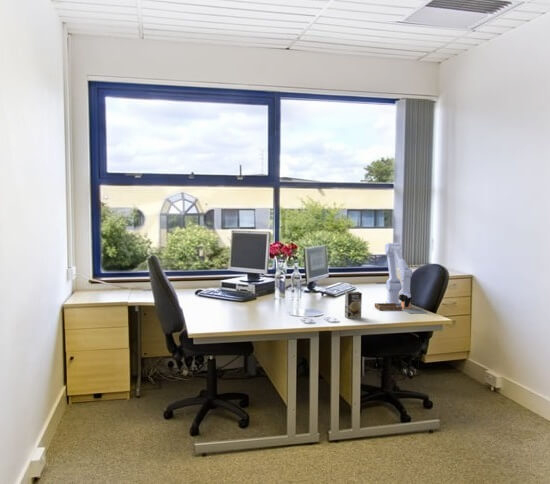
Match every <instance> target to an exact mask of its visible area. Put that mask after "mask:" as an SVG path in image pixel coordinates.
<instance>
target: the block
mask: <svg viewBox="0 0 550 484" xmlns="http://www.w3.org/2000/svg"><path fill="white" fill-rule="evenodd" d="M400 306H402V310H403V309H412V302H410V303H409V307H405V302H402V301H400Z"/></svg>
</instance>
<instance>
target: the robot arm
mask: <svg viewBox="0 0 550 484" xmlns="http://www.w3.org/2000/svg"><path fill="white" fill-rule="evenodd" d="M401 250H402V246H401V244H400V242H386V244H385V245H384V253H385V255H386V259H387V268H388V277H389V278H387V280H386V284H385V288H386V290H387V291H388V292H387V297H386V301H385V303H397V305H401V302H405V307H409V303H411V300H412V298H413V297H412V294H411V278H412V276H413V271H412V269H411V268H410V267H409V266H408V263H407V262H406V260H405V259H403V255H402V252H401ZM396 260H397V261H398V262H397V266H398V268H399V271H400V275H399V276H400V279H399V278H398V277H397V268H396V267H397V266H396ZM399 299H400V301H399Z"/></svg>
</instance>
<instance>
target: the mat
mask: <svg viewBox="0 0 550 484" xmlns="http://www.w3.org/2000/svg"><path fill="white" fill-rule="evenodd" d="M402 311H405V312H407V313H408V314H410V315H411V314H428V312H427V311H425V310H423V309H421V308H411V309H403V308H402Z"/></svg>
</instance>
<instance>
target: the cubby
mask: <svg viewBox="0 0 550 484" xmlns="http://www.w3.org/2000/svg"><path fill="white" fill-rule="evenodd" d="M374 308H376V309H377V310H379V311H380V312H382V311H381V310H390V311H403V308H402V306H401V305H400V306H398V304H397V303H387V302H383V303H382V302H380V303H375V302H374Z"/></svg>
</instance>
